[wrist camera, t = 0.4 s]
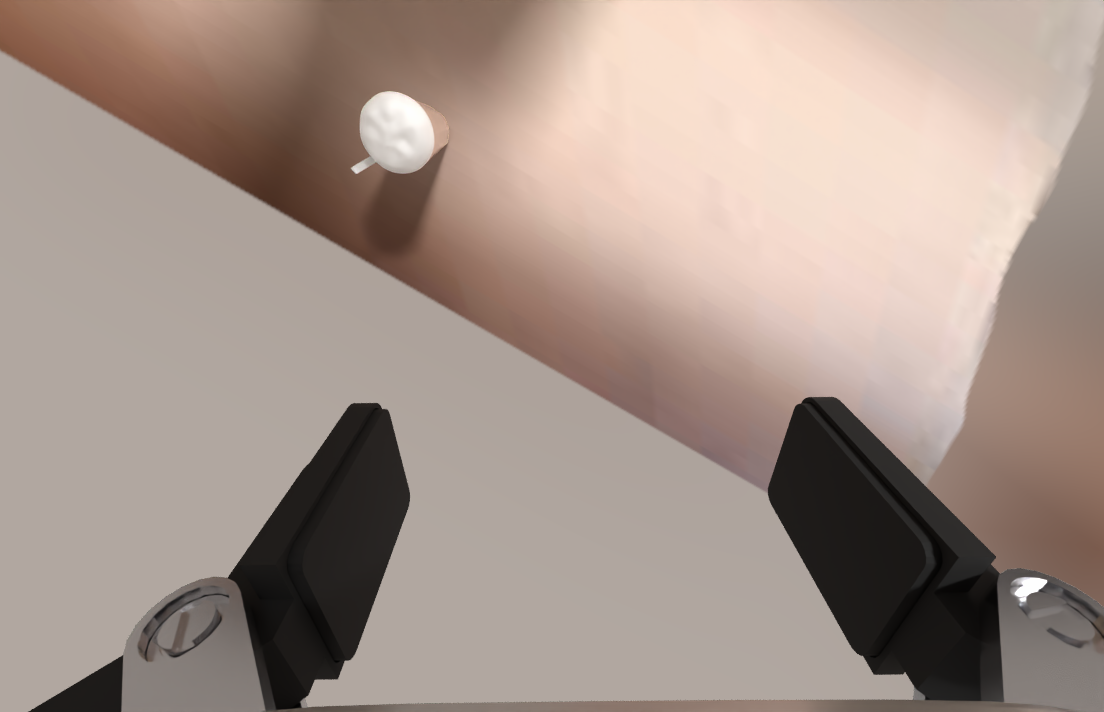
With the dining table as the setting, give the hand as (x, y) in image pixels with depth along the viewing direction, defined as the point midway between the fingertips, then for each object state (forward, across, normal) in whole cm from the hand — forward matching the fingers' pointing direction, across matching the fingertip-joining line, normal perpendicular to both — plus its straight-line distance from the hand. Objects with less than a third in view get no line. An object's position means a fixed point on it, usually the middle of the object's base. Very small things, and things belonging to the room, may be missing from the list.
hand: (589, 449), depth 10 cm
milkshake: (+31, +11, -6) cm, 33 cm away
